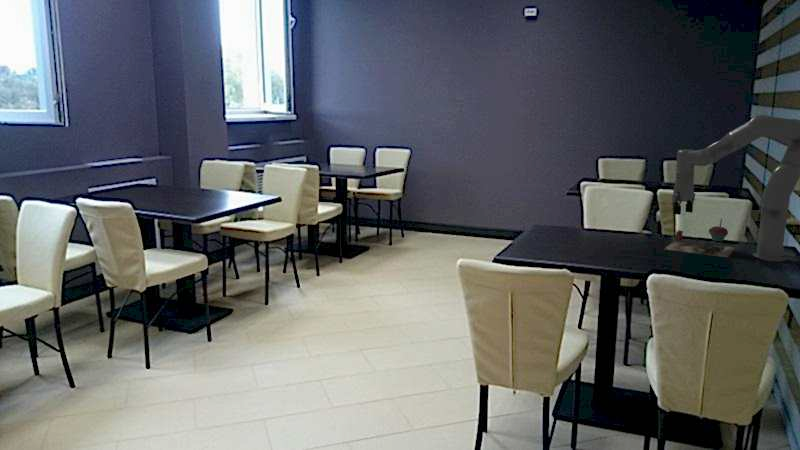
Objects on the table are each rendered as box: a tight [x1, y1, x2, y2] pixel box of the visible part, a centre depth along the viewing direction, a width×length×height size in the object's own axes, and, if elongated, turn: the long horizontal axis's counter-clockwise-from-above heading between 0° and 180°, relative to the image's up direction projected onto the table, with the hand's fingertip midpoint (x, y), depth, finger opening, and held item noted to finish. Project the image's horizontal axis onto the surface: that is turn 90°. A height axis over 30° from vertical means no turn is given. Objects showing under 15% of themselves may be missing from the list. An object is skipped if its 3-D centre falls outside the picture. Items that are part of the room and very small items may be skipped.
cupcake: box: [708, 218, 729, 243], centre depth 298 cm, size 9×8×12 cm
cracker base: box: [664, 238, 736, 258], centre depth 277 cm, size 26×24×3 cm
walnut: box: [701, 242, 711, 252], centre depth 269 cm, size 4×4×4 cm
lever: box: [674, 229, 724, 251], centre depth 278 cm, size 22×5×6 cm, turn 35°
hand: (683, 213), depth 282 cm, fingers open, 9 cm apart
